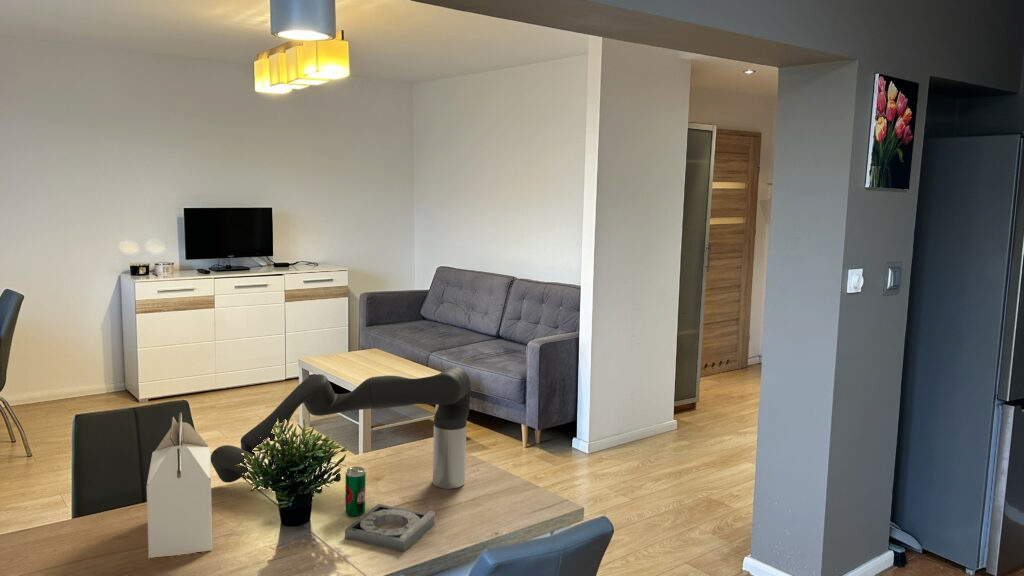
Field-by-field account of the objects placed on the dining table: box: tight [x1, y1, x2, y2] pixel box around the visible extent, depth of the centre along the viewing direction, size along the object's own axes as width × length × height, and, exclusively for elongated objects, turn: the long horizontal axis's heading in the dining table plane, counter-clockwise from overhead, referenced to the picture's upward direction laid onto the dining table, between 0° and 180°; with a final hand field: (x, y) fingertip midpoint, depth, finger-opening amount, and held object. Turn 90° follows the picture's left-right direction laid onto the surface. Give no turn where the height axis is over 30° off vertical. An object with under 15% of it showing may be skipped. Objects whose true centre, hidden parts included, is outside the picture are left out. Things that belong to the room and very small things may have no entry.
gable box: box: [146, 412, 213, 558], centre depth 185 cm, size 22×13×28 cm, turn 21°
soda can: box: [344, 466, 367, 518], centre depth 201 cm, size 5×5×12 cm
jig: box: [344, 503, 435, 553], centre depth 193 cm, size 16×16×4 cm
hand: (331, 483), depth 203 cm, fingers open, 8 cm apart
